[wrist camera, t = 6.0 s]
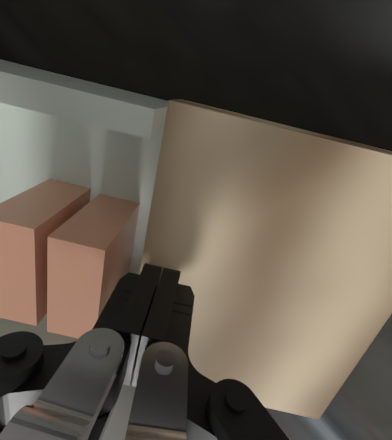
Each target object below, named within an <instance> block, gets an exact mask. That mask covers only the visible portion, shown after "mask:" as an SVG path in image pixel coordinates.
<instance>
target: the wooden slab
mask: <svg viewBox="0 0 392 440" xmlns="http://www.w3.org/2000/svg"><path fill="white" fill-rule="evenodd" d="M145 263H147V264H152V265H156V266H160V267H162V271H163V268H164V267H165V268H169V269H173V270H178V271H181V273H180V278H179V282H178V284H182V285H186V286H191V289H192V291H193V294H194V296H195V297H194V305H193V313H192V322H191V330H190V338H189V346H188V355H189V359H190V361H191V363H192V365H193V366H194V368H195V369H196V370H197V371H198V372H199V373H201V374H202V375H203V376H205V377H207V378H209V379H210V380H212V381H214V382H215V383H217V382H219V381H220V380H223V379H235V380H238V381H240V382H242V383H244V384H245V385H247V386H248V387H249V388H250V389H251V390H252V392H253V393H254V394H255V395H256V397H257V398H258V399H259V401H260V402H261V403H262V405H263V406H264V407H266V408H270V409H275V410H279V411H283V412H288V413H292V414H297V415H301V416H305V417H310V418H314V419H319V418H320V416H321V415H322V414H323V412H324V411H325V409H326V408H327V406H328V405H329V403H330V402H331V401H332V399H333V398H334V396H335V395H336V393H337V392H338V390H339V389H340V387H341V386H342V385H343V383H344V382H345V380H346V379H347V377H348V376H349V374H350V373H351V372H352V370H353V369H354V367H355V366H356V364H357V363H358V361H359V360H360V359H361V357H362V356H363V354H364V353H365V351H366V350H367V348H368V347H369V345H370V344H371V343H372V341H373V340H374V338H375V337H376V335H377V334H378V332H379V331H380V330H381V328H382V327H383V325H384V324H385V322H386V321H387V319H388V318H389V316H390V315H391V314H392V151H389V150H385V149H381V148H377V147H373V146H369V145H365V144H361V143H357V142H353V141H349V140H345V139H341V138H337V137H333V136H329V135H325V134H320V133H316V132H312V131H308V130H304V129H300V128H296V127H292V126H288V125H284V124H280V123H276V122H272V121H268V120H264V119H260V118H256V117H252V116H248V115H244V114H240V113H236V112H232V111H228V110H224V109H220V108H216V107H212V106H208V105H203V104H199V103H195V102H191V101H187V100H183V99H174V100H168V106H167V112H166V118H165V124H164V130H163V136H162V142H161V148H160V154H159V160H158V166H157V172H156V178H155V184H154V190H153V196H152V201H151V207H150V213H149V219H148V225H147V231H146V237H145V243H144V249H143V255H142V261H141V267H140V273H141V271H142V268H143V266H144V264H145ZM140 273H139V275H140ZM161 274H162V273H161ZM134 372H135V370H134ZM132 377H134V373H133V376H132Z"/></svg>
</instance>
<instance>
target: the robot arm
mask: <svg viewBox="0 0 392 440" xmlns="http://www.w3.org/2000/svg"><path fill="white" fill-rule="evenodd" d="M161 273H162V274H161ZM180 273H181V271H178V270H173V269H169V268H165V267H164V268H163V271H162V267H160V266H156V265H152V264H147V263H145V264H144V266H143V268H142V271H141V273H140V275H139V274H135V273H130V272H128V273H127V274H126V275H124V276H123V277H121V278H120V279H119V281H118V283H117V285H116V286H115V289H114V290H113V292H112V294H111V296H110V298H109V299H108V301H107V303H106V305H105V307H104V309H103V310H102V312H101V314H100V316H99V318H98V320H97V321H96V323H95V325H94V327H93V329H92V330H90V331H88V332H86V333H84V334H83V335H82V336H81V337H80V338H79V339H78V340H77V341H75V342H71V343H67V344H55V345H43V341H42V339H41V338H40V337H39V336H38V335H37V334H35V333H32V332H27V331H18V332H12V333H9V334H6V335H3V336H1V337H0V440H101V439H102V437H103V435H104V432H105V430H106V427H107V425H108V423H109V420H110V418H111V415H112V413H113V410H114V407H115V404H116V402H117V400H118V397H119V394H120V391H121V388H122V385H123V384H124V385H128V386H130V383H131V380H132V376H133V373H134V377H133V382H132V386H133V387H136V388H135V393H134V398H133V402H132V407H131V412H130V417H129V422H128V426H127V431H126V436H125V440H289V439H288V438H287V436H286V435H285V434H284V432H283V431H282V430H281V428H280V427H279V426H278V425H277V423H276V422H275V421H274V419H273V418H272V417H271V415H270V414H269V413H268V411H267V410H266V409H265V407H264V406H263V405H262V403H261V402H260V401H259V399H258V398H257V397H256V395H255V394H254V393H253V392H252V390H251V389H250V388H249V387H248V386H247V385H245V384H244V383H242V382H240V381H238V380H235V379H223V380H220V381H219V382H217V383H215V382H214V381H212V380H210V379H209V378H207V377H205V376H203V375H202V374H201V373H199V372H198V371H197V370H196V369H195V368H194V366H193V365H192V363H191V361H190V359H189V355H188V346H189V338H190V330H191V322H192V313H193V305H194V297H195V296H194V294H193V291H192V289H191V286H186V285H182V284H178V282H179V278H180ZM134 370H135V372H134Z"/></svg>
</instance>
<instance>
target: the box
mask: <svg viewBox="0 0 392 440" xmlns="http://www.w3.org/2000/svg"><path fill="white" fill-rule="evenodd" d="M167 106H168V101H167V100H163V99H158V98H154V97H150V96H146V95H142V94H138V93H134V92H130V91H126V90H122V89H118V88H114V87H110V86H106V85H102V84H98V83H94V82H90V81H86V80H82V79H78V78H74V77H70V76H66V75H61V74H57V73H53V72H49V71H45V70H41V69H37V68H33V67H29V66H25V65H21V64H17V63H13V62H9V61H5V60H1V59H0V203H2V202H4V201H6V200H8V199H10V198H12V197H14V196H16V195H18V194H20V193H22V192H24V191H26V190H28V189H30V188H32V187H34V186H36V185H38V184H40V183H42V182H44V181H46V180H48V179H54V180H58V181H62V182H67V183H71V184H75V185H79V186H83V187H87V188H91V193H90V201H92V200H93V199H94V198H95V197H96V196H98V195H99V194H103V195H107V196H111V197H116V198H120V199H124V200H128V201H132V202H136V203H140V207H139V213H138V220H137V226H136V232H135V239H134V245H133V251H132V258H131V264H130V270H129V272H130V273H135V274H139V273H140V267H141V261H142V255H143V249H144V243H145V237H146V231H147V225H148V219H149V213H150V207H151V201H152V196H153V190H154V184H155V178H156V172H157V166H158V160H159V154H160V148H161V142H162V136H163V130H164V124H165V118H166V112H167ZM18 331H27V332H32V333H35V334H37V335H38V336H39V337H40V338H41V339H42V341H43V345H55V344H67V343H71V342H75V341H77V340H78V339H77V338H73V337H69V336H65V335H60V334H56V333H52V332H48V331H47V314H46V315H45V316H44V318H43V319H42V320H41V321H40V323H39V324H38V325H37V326H34V325H30V324H25V323H21V322H17V321H12V320H8V319H3V318H0V337H1V336H3V335H6V334H9V333H12V332H18Z"/></svg>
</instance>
